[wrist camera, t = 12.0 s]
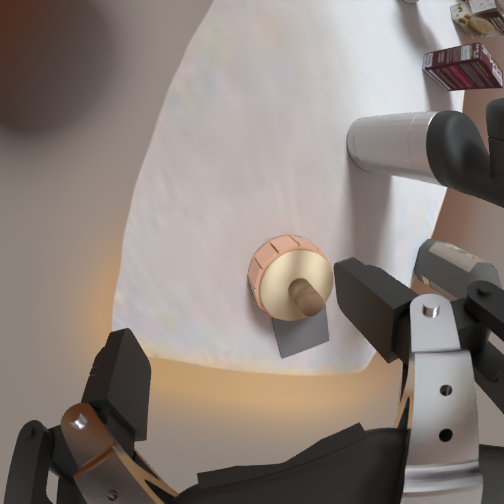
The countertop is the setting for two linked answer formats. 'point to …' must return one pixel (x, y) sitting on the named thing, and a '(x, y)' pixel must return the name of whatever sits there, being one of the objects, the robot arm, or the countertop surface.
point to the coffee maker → (413, 1)
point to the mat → (301, 333)
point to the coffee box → (479, 18)
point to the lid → (296, 284)
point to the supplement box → (463, 68)
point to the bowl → (270, 253)
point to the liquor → (451, 269)
